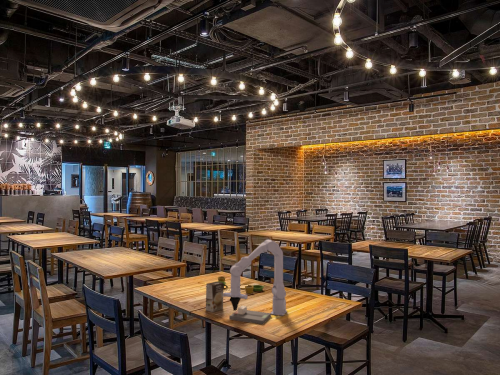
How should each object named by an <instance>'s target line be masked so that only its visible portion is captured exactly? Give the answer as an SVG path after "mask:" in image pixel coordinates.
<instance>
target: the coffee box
mask: <svg viewBox="0 0 500 375" xmlns="http://www.w3.org/2000/svg"><path fill="white" fill-rule="evenodd" d="M205 284H206V285H205V286H206V287H205V288H206V289H205V311H208V312H211V313H214V312H217V311H221V310H224V297H223V293H224V292H223V291H224V289H223V287H224V283H222V282H217V281H212V282H209V283H205Z"/></svg>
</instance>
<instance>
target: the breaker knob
mask: <svg viewBox="0 0 500 375" xmlns="http://www.w3.org/2000/svg"><path fill="white" fill-rule="evenodd" d="M237 310H238V314H241V315H243V314H245V313H246V312H247V310H248V306H246V305H241V306H239V307H237Z"/></svg>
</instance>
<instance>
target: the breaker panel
mask: <svg viewBox="0 0 500 375" xmlns="http://www.w3.org/2000/svg"><path fill="white" fill-rule="evenodd" d="M270 318H272V314H271V312H265V311H264V312H262V311H257V310H249V309H247V312H246V313H245V314H243V315H241V314H238V309H237V310H236V311H234V312H233V313H232V314H230V315H229V320H231V321H237V322H238V321H239V322H244V323H245V322H246V323H250V324H251V323H252V324H259V325H264V324H265V323H266V322H267V321H268V320H269V319H270Z"/></svg>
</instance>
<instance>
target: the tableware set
mask: <svg viewBox="0 0 500 375" xmlns="http://www.w3.org/2000/svg"><path fill="white" fill-rule="evenodd" d="M216 282H222V283H224V286H226V288H224V287H223V293H225V292H226V291H227V290H228V289H229V285H226V284H227V283H226V276H218V277H217V281H216ZM241 285H248V286H245V288H240V290H245V293H244V292H243V293H244V295H250V294H251V293H252V294H253V293H254V292H255V291H260V292H262V291H263V289H264V288H265V287H264V285H261V284H254V285H253V284H249V283H248V284H247V283H244V284H241V283H240V286H241ZM228 291H229V290H228ZM228 291H227V292H228ZM241 292H242V291H240V294H242V293H241ZM247 293H248V294H247Z"/></svg>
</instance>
